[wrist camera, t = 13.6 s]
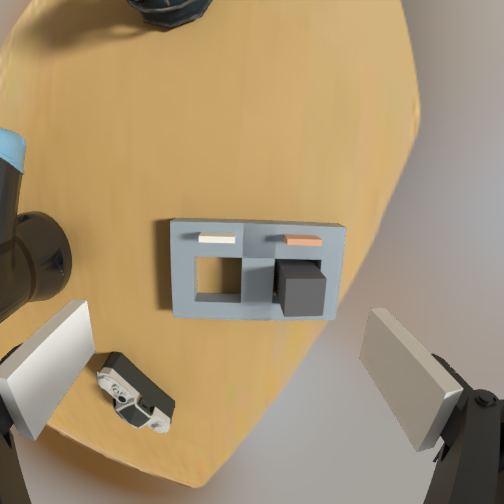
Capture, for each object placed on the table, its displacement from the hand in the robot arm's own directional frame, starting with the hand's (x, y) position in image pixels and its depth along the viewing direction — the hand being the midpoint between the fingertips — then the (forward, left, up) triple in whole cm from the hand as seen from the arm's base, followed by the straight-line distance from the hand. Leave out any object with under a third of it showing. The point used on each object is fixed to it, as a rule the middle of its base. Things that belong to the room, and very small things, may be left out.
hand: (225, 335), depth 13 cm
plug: (+12, +1, -33) cm, 35 cm away
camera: (+9, -34, -33) cm, 48 cm away
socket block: (+7, -2, -33) cm, 34 cm away
